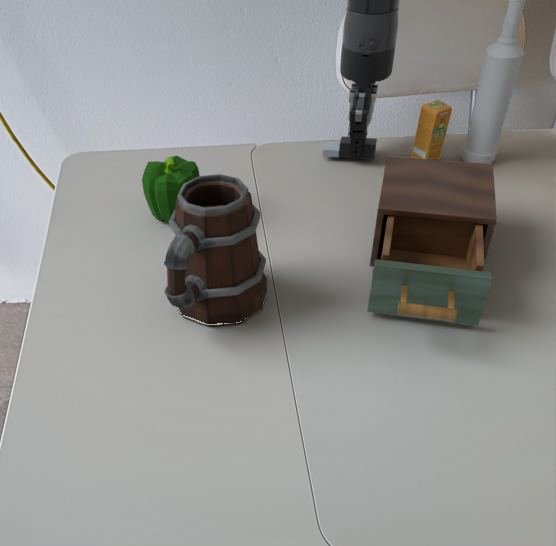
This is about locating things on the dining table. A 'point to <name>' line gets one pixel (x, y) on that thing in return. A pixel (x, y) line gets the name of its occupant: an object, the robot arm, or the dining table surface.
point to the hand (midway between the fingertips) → (357, 153)
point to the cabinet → (436, 195)
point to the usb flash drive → (344, 148)
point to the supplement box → (431, 130)
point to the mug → (215, 252)
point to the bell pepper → (166, 184)
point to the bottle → (494, 90)
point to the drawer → (431, 271)
